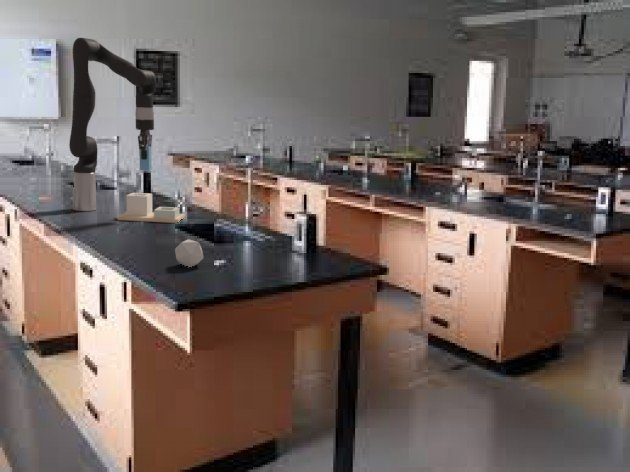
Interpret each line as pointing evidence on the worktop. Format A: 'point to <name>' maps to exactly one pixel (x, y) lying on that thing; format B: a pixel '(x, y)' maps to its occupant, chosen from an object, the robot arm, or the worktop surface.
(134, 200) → the stepped block tray
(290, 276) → the worktop surface
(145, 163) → the plug
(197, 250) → the grey faceted polyhedron
